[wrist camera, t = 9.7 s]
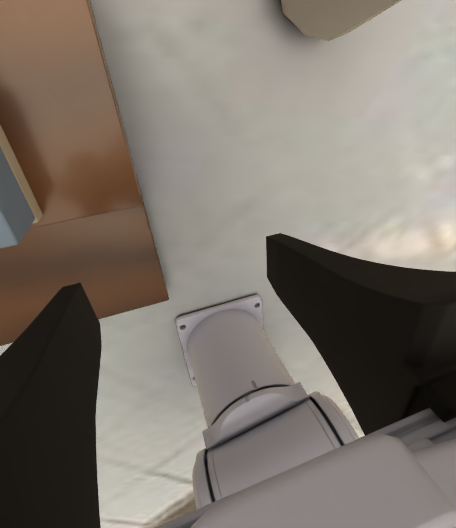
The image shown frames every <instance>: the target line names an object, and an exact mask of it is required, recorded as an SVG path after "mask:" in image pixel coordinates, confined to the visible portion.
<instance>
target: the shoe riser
mask: <svg viewBox="0 0 456 528" xmlns="http://www.w3.org/2000/svg"><path fill="white" fill-rule="evenodd" d="M0 125H1V127H2V129H3V131H4V133H5V135H6V137H7V140H8V142H9V144H10V146H11V148H12V150H13V152H14V154H15V157H16V159H17V161H18V163H19V165H20V167H21V169H22V171H23V173H24V176H25V178H26V180H27V182H28V184H29V186H30V188H31V190H32V193H33V195H34V197H35V199H36V201H37V203H38V205H39V207H40V210H41V212H42V214H43V215H42V217H41V218H40V220H39V222H37V223H33V224H31V226H30V227H29V229H28V230H27V232H26V234H25V235H24V237H23V238H22V240H21V241H20V243H19V244H18V245H14V246H9V247H5V248H0V346H2V345H5V344H9V343H13V342H14V341H15V340H16V339H17V338H18V337H19V336H20V335H21V334H22V333H23V332H24V331H25V329H26V328H27V327H28V326H29V325H30V324H31V323H32V322H33V320H34V319H35V318H36V317H37V316H38V315H39V313H40V312H41V311H42V310H43V309H44V308H45V306H46V305H47V304H48V303H49V302H50V300H51V299H52V298H53V297H54V296H55V295H56V293H57V292H58V291H59V290H60V289H61V288H62V287H64V286H69V285H73V284H77V283H81V284H82V286H83V289H84V291H85V293H86V295H87V297H88V299H89V301H90V304H91V306H92V308H93V310H94V312H95V314H96V316H97V318H98V319H101V318H104V317H108V316H112V315H115V314H119V313H123V312H126V311H130V310H134V309H137V308H141V307H145V306H148V305H152V304H156V303H159V302H163V301H167V300H169V297H168V292H167V288H166V285H165V281H164V277H163V273H162V270H161V266H160V262H159V258H158V255H157V251H156V247H155V243H154V240H153V236H152V232H151V228H150V225H149V221H148V217H147V213H146V210H145V206H144V202H143V198H142V195H141V191H140V187H139V183H138V180H137V176H136V172H135V168H134V165H133V161H132V157H131V153H130V150H129V146H128V142H127V138H126V135H125V131H124V127H123V123H122V120H121V116H120V112H119V108H118V105H117V101H116V97H115V93H114V90H113V86H112V82H111V78H110V75H109V71H108V67H107V63H106V60H105V56H104V52H103V48H102V45H101V41H100V37H99V33H98V30H97V26H96V22H95V18H94V15H93V11H92V7H91V3H90V0H0Z"/></svg>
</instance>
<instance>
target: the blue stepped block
mask: <svg viewBox="0 0 456 528" xmlns="http://www.w3.org/2000/svg"><path fill="white" fill-rule="evenodd" d="M42 215H43V214H42V212H41V210H40V207H39V205H38V203H37V201H36V199H35V197H34V195H33V193H32V190H31V188H30V186H29V184H28V182H27V180H26V178H25V176H24V173H23V171H22V169H21V167H20V165H19V163H18V161H17V159H16V157H15V154H14V152H13V150H12V148H11V146H10V144H9V142H8V140H7V137H6V135H5V133H4V131H3V129H2V127H1V125H0V248H5V247H9V246H14V245H18V244H19V243H20V241H21V240H22V238H23V237H24V235H25V234H26V232H27V230H28V229H29V227H30V226H31V224H33V223H37V222H39V220H40V218H41V217H42Z"/></svg>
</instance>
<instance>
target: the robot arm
mask: <svg viewBox="0 0 456 528" xmlns="http://www.w3.org/2000/svg"><path fill="white" fill-rule="evenodd" d="M266 249H267V278H268V280H269V281H270V283H271V285H272V287H273V289H274V290H275V292H276V294H277V296H278V297H279V298H280V300H281V301H282V302H283V304H284V305H285V306H286V307H287V309H288V310H289V311H290V313H291V314H292V315H293V316H294V318H295V319H296V320H297V322H298V323H299V324H300V325H301V327H302V328H303V329H304V331H305V332H306V333H307V334H308V336H309V337H310V339H311V340H312V341H313V343H314V345H315V346H316V348H317V349H318V351H319V353H320V354H321V356H322V357H323V359H324V361H325V362H326V364H327V366H328V368H329V369H330V371H331V373H332V374H333V376H334V378H335V380H336V381H337V383H338V385H339V387H340V389H341V390H342V392H343V394H344V396H345V398H346V400H347V401H348V403H349V405H350V407H351V409H352V411H353V413H354V415H355V417H356V419H357V421H358V423H359V425H360V427H361V429H362V430H363V432H364V434H365V436H363V437H361V438H359V437H358V435H357V433H356V432H355V430H354V429H353V427H352V425H351V424H350V422H349V421H348V419H347V418H346V417H345V415H344V414H343V412H342V411H341V410H340V408H339V407H338V406H337V405H336V404H335V403H334V402H333V400H331V399H330V398H329V397H327V396H324V395H321V394H320V393H318V392H313V393H312V394H310V395H307V393H306V392H305V390H304V388H303V387H302V385H301V383H299V382H298V383H296V384H295V383H294V381H293V379H292V378H291V376H290V374H289V373H288V371H287V369H286V368H285V366H284V364H283V363H282V361H281V359H280V358H279V356H278V354H277V353H276V351H275V349H274V348H273V346H272V344H271V343H270V341H269V339H268V338H267V336H266V334H265V333H264V331H263V315H262V299H261V297H260V296H259V295H253V296H249V297H246V298H242V299H239V300H235V301H232V302H228V303H225V304H221V305H218V306H214V307H211V308H207V309H204V310H200V311H197V312H193V313H190V314H186V315H183V316H180V317H178V318H177V319H176V326H177V330H178V334H179V337H180V341H181V345H182V349H183V352H184V356H185V360H186V364H187V367H188V371H189V375H190V379H191V382H192V386H193V387H197V388H198V392H199V396H200V400H201V403H202V407H203V411H204V415H205V419H206V422H207V426H208V429H206V430H204V431H203V432H202V433H203V437H204V441H205V445H206V448H205V449H203V450H201V451H199V452H198V454H197V456H196V462H195V465H194V468H193V475H192V478H193V490H194V496H195V502H196V507H197V510H194V511H192V512H190V513H188V514H185V515H183V516H181V517H178V518H176V519H174V520H172V521H169V522H167V523H165V524H162V525H160V526H158V527H156V528H456V272H446V271H433V270H421V269H412V268H404V267H398V266H391V265H385V264H380V263H374V262H370V261H366V260H361V259H357V258H353V257H349V256H346V255H343V254H339V253H336V252H333V251H330V250H327V249H324V248H321V247H318V246H315V245H313V244H310V243H307V242H304V241H302V240H299V239H296V238H294V237H291V236H288V235H284V234H281V233H279V234H275V235H271V236H267V237H266ZM256 303H258V304H257V305H255V304H256ZM182 325H184V326H183V327H181V326H182ZM100 358H101V331H100V323H99V321H98V318H97V316H96V314H95V312H94V310H93V308H92V306H91V304H90V301H89V299H88V297H87V295H86V293H85V291H84V289H83V286H82V284H81V283H77V284H73V285H69V286H64V287H62V288H61V289H60V290H59V291H58V292H57V293H56V295H55V296H54V297H53V298H52V299H51V300H50V302H49V303H48V304H47V305H46V306H45V308H44V309H43V310H42V311H41V312H40V313H39V315H38V316H37V317H36V318H35V319H34V320H33V322H32V323H31V324H30V325H29V326H28V327H27V328H26V329H25V331H24V332H23V333H22V334H21V335H20V336H19V337H18V338H17V339H16V340H15V341H14V342H13V343H12V344H11V345H10V346H9V348H8V349H7V350H6V351H5V352H4V353H3V354H2V355H1V356H0V528H100V516H99V501H98V484H97V462H96V422H95V416H96V400H97V390H98V379H99V369H100Z"/></svg>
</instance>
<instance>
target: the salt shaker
mask: <svg viewBox="0 0 456 528" xmlns="http://www.w3.org/2000/svg"><path fill="white" fill-rule="evenodd" d="M399 1H401V0H281V5H282V11H283V14H284V15H285V16H286V17H288V18H289V19H290V20H291V21H292V22H293V23H294V24H295V25H296V26H297V27H298V28H299V30H300V31H301V32H302V33H303V34H304V35H306V36H310V37H314V38H318V39H322V40H332V39H334V38H336V37H339V36H341V35H344V34H346V33H349V32H351V31H352V30H354V29H356V28H357V27H359V26H360V25H362V24H364V23H365V22H367V21H369V20H370V19H372V18H373V17H375V16H377V15H378V14H380V13H382V12H383V11H385V10H386V9H388V8H390V7H391V6H393V5H395V4H396V3H398V2H399Z"/></svg>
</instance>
